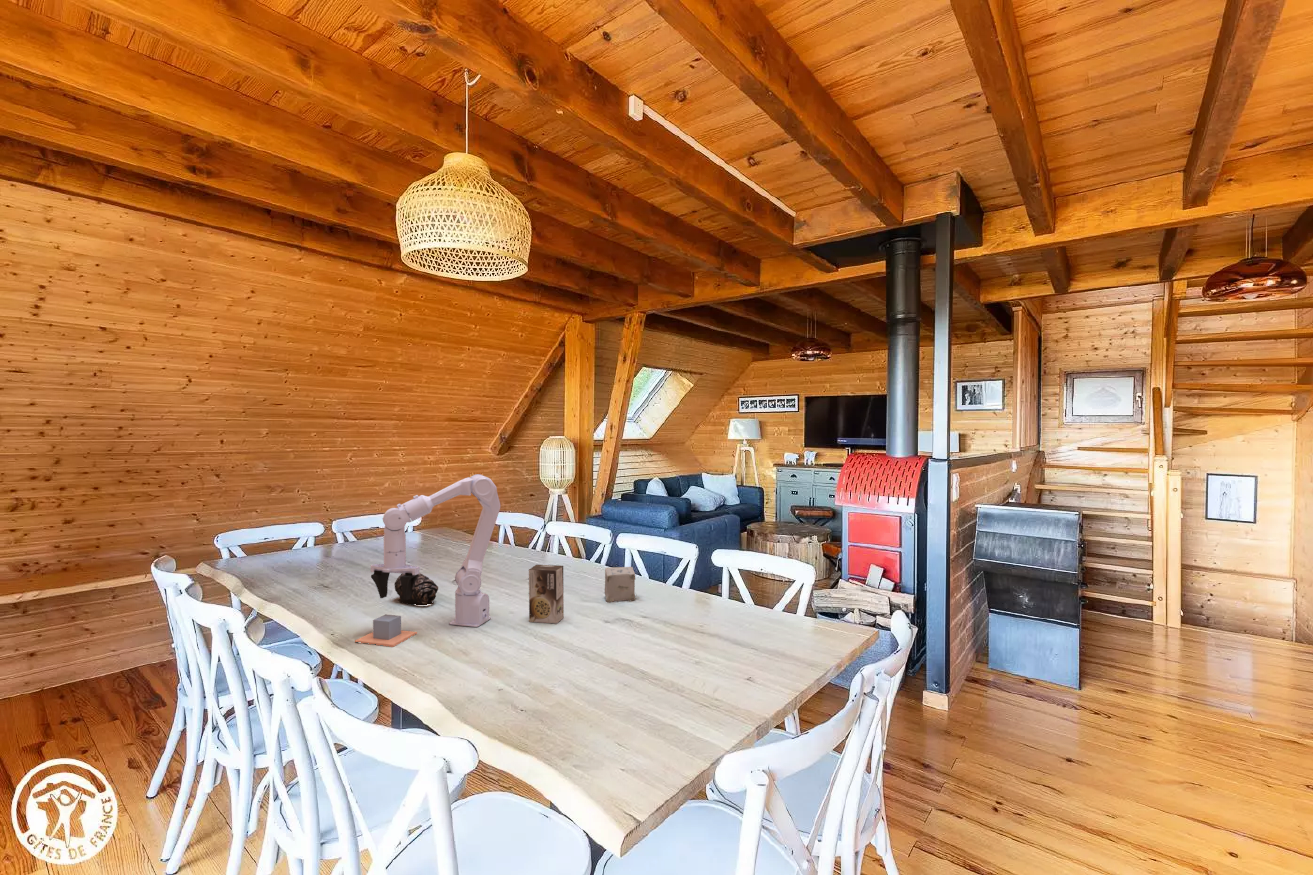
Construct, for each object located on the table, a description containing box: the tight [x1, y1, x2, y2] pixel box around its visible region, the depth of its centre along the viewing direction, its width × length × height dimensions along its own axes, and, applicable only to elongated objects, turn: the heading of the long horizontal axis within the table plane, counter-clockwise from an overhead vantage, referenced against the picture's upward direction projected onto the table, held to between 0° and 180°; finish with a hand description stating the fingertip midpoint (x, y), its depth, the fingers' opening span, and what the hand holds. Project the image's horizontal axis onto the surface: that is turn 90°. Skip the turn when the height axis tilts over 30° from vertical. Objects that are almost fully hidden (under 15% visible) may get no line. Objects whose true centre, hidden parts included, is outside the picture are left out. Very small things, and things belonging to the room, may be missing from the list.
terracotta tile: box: [354, 629, 418, 648], centre depth 162 cm, size 12×10×1 cm
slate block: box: [372, 614, 402, 640], centre depth 162 cm, size 5×5×5 cm
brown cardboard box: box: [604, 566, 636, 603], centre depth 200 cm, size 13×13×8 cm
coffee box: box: [528, 564, 565, 624], centre depth 178 cm, size 9×6×16 cm
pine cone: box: [394, 572, 439, 605], centre depth 196 cm, size 10×18×10 cm, turn 62°
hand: (395, 598), depth 167 cm, fingers open, 7 cm apart
